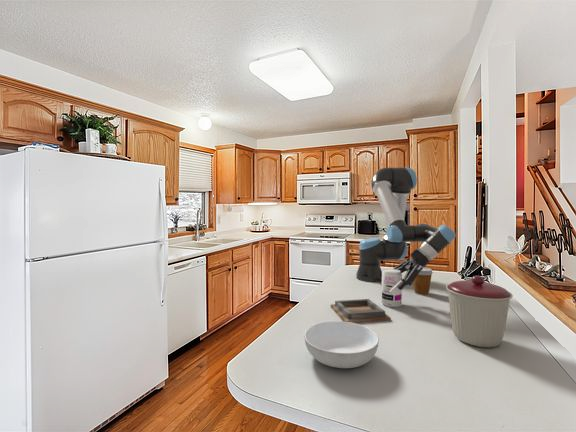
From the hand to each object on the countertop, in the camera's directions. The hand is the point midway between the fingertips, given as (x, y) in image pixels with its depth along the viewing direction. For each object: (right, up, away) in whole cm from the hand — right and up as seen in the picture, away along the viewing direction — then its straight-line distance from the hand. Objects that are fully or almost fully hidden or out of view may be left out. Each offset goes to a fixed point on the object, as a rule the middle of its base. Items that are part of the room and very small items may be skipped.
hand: (387, 289), depth 130 cm
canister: (+18, -9, -33) cm, 39 cm away
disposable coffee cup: (+22, -6, +17) cm, 29 cm away
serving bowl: (-28, -9, -44) cm, 53 cm away
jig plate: (-15, -7, -9) cm, 19 cm away
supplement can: (+2, -7, 0) cm, 7 cm away
